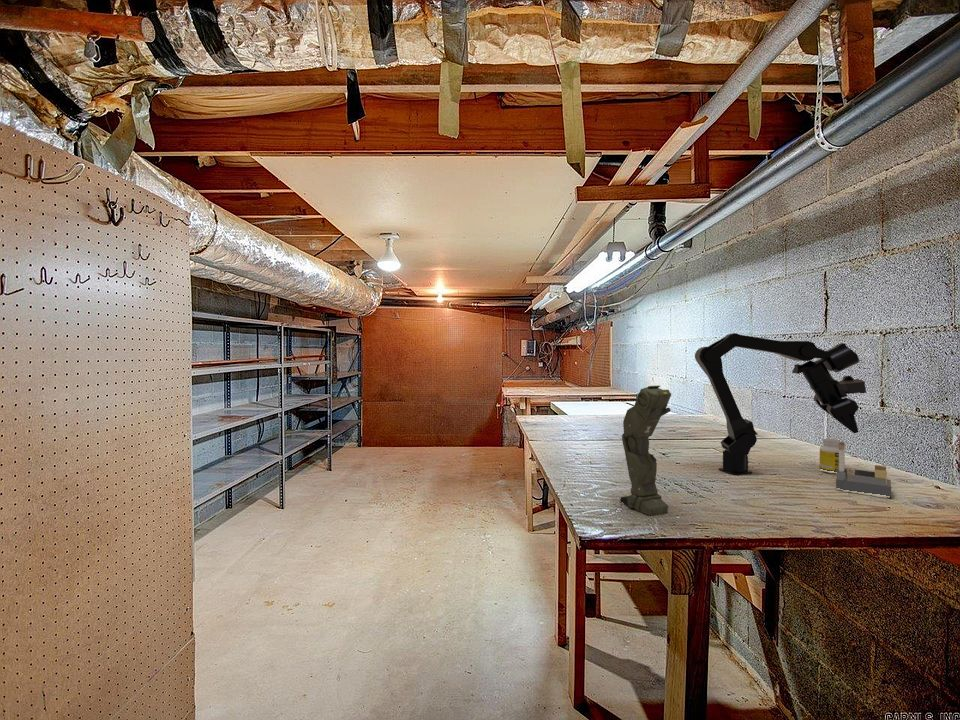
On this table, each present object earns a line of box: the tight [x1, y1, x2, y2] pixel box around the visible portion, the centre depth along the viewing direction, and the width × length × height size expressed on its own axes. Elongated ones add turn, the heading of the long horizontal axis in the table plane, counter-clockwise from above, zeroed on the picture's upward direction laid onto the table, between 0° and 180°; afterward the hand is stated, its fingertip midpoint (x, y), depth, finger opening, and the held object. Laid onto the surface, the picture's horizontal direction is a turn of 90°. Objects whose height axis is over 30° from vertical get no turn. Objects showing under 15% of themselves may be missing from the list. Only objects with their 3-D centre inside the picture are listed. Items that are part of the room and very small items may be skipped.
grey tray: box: [835, 464, 892, 497], centre depth 114 cm, size 10×8×6 cm
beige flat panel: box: [839, 441, 846, 473], centre depth 117 cm, size 1×5×9 cm, turn 138°
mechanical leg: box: [619, 385, 672, 517], centre depth 103 cm, size 14×7×30 cm, turn 21°
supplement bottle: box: [819, 438, 841, 472], centre depth 132 cm, size 5×5×10 cm
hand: (850, 428), depth 126 cm, fingers open, 9 cm apart
